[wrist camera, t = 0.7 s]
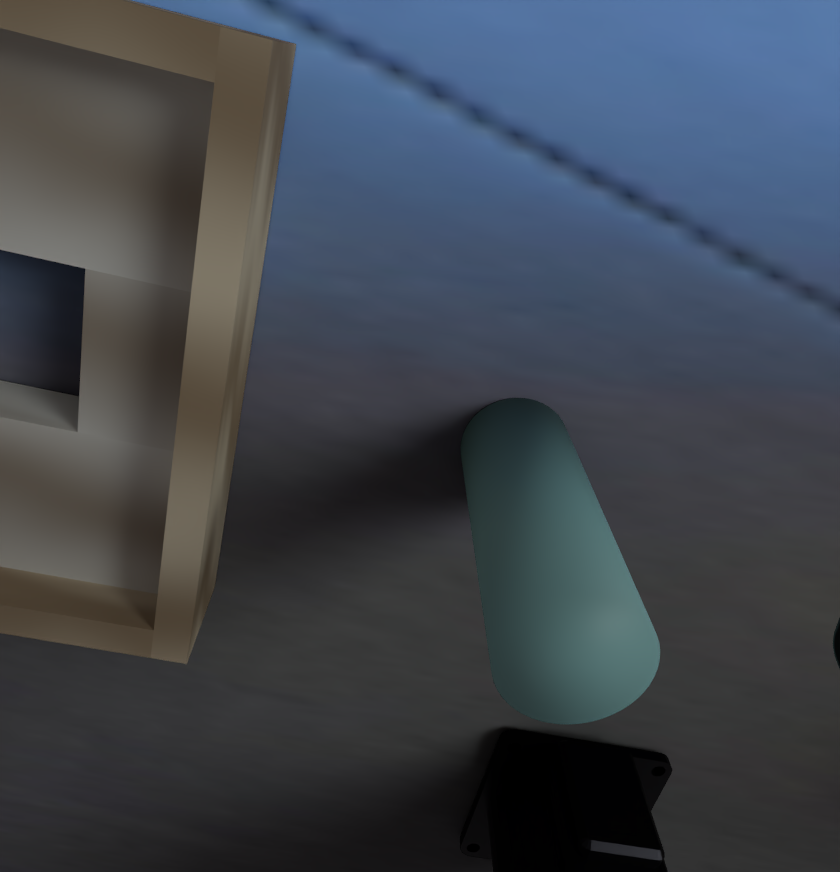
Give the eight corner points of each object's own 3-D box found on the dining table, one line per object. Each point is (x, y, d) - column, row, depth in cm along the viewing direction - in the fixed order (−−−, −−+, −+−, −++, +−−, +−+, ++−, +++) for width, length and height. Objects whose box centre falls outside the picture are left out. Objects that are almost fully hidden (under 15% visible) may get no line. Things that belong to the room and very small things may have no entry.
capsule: (549, 503, 23) (625, 735, 15) (448, 482, 23) (471, 710, 15) (583, 410, 22) (686, 612, 14) (476, 387, 22) (519, 580, 14)
